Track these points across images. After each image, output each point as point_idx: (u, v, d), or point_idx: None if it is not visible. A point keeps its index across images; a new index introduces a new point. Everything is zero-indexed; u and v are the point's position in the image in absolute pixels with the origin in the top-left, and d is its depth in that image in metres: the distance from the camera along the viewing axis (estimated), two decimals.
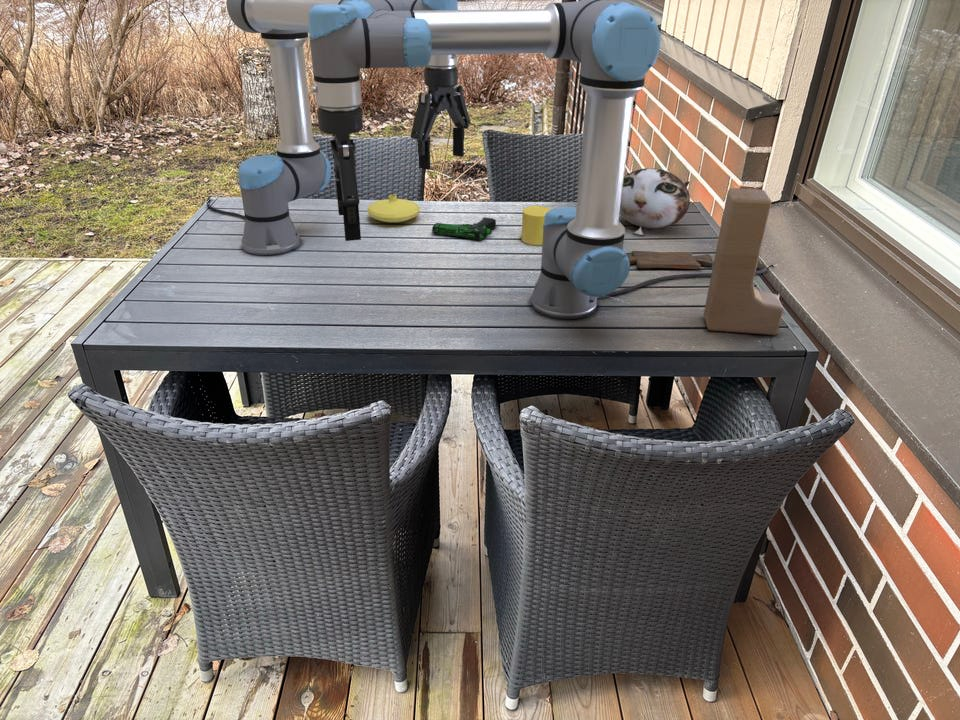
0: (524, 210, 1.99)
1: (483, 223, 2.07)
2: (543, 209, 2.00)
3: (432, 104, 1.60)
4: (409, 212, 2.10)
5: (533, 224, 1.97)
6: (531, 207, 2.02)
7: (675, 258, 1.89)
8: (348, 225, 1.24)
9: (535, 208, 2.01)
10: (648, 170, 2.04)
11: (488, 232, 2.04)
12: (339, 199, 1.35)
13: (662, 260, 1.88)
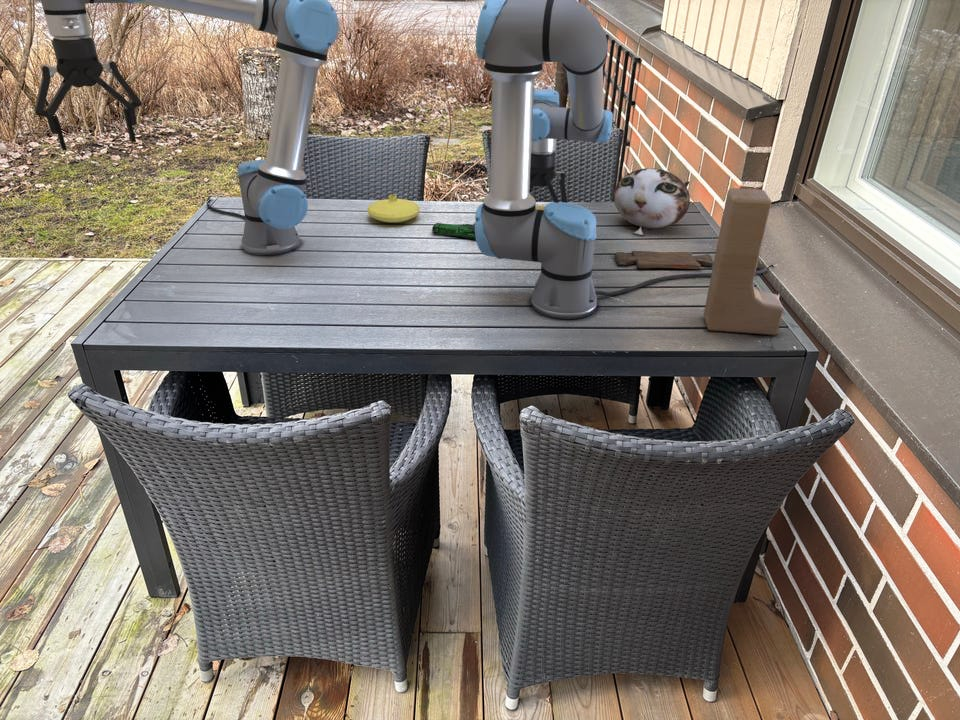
0: None
1: None
2: (543, 209, 2.00)
3: None
4: (409, 212, 2.10)
5: None
6: None
7: (675, 258, 1.89)
8: None
9: (535, 208, 2.01)
10: (648, 170, 2.04)
11: None
12: None
13: (662, 260, 1.88)
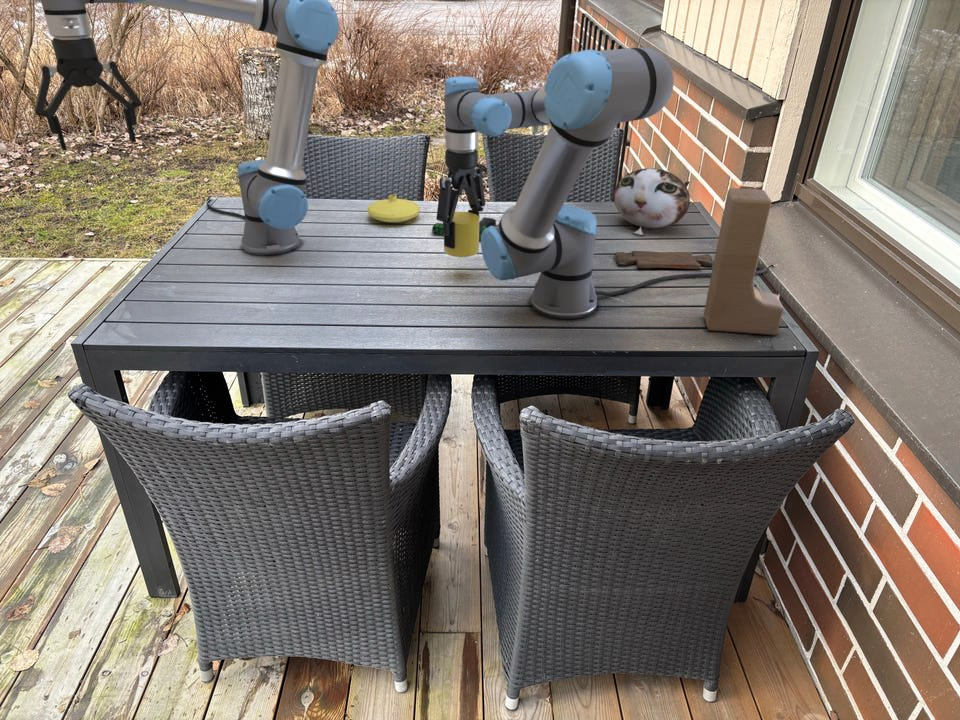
0: None
1: (483, 223, 2.07)
2: (462, 215, 1.75)
3: None
4: (409, 212, 2.10)
5: (470, 232, 1.71)
6: (448, 216, 1.74)
7: (675, 258, 1.89)
8: (446, 235, 1.72)
9: (454, 216, 1.74)
10: (648, 170, 2.04)
11: None
12: None
13: (662, 260, 1.88)
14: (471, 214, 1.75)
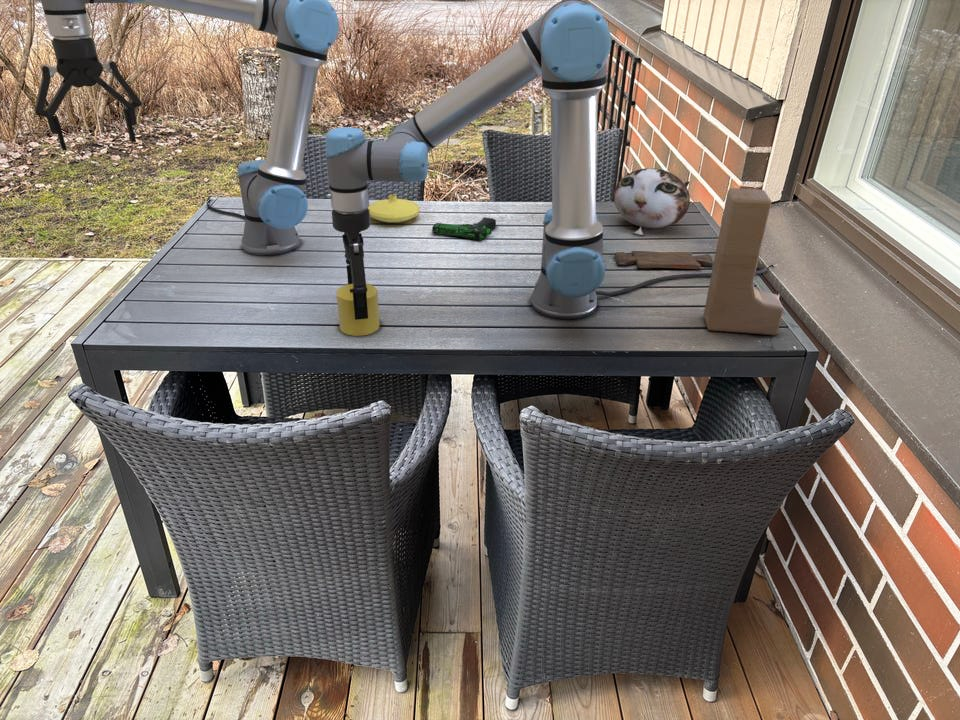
0: None
1: (483, 223, 2.07)
2: (351, 288, 1.54)
3: None
4: (409, 212, 2.10)
5: (377, 302, 1.54)
6: (343, 295, 1.51)
7: (675, 258, 1.89)
8: (357, 307, 1.47)
9: (348, 293, 1.52)
10: (648, 170, 2.04)
11: (488, 232, 2.04)
12: (349, 280, 1.58)
13: (662, 260, 1.88)
14: None
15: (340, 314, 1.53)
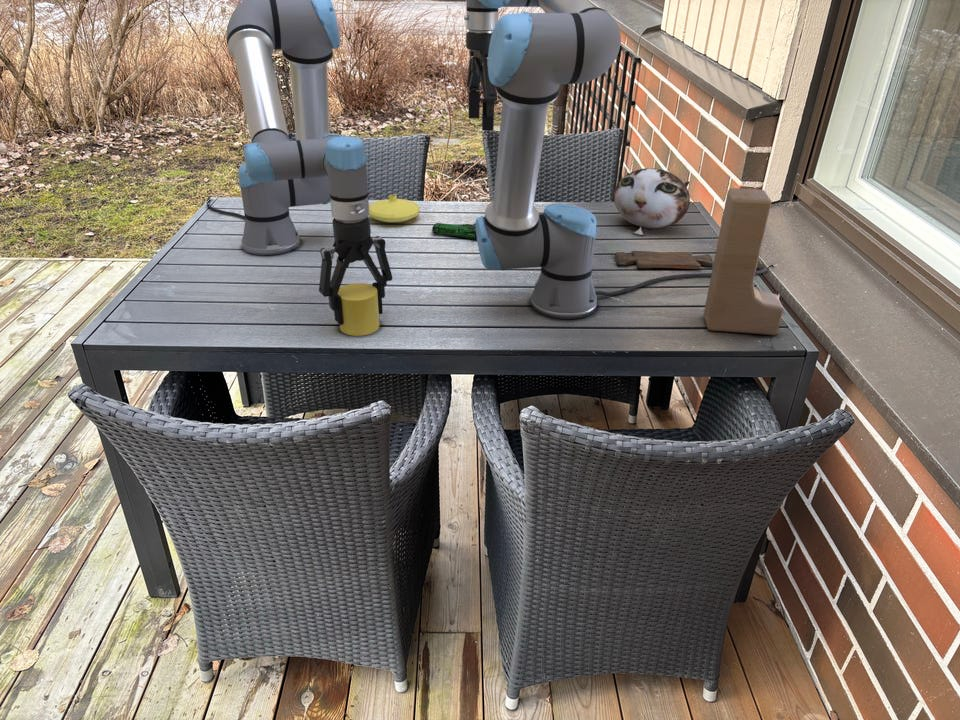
0: (356, 299, 1.50)
1: None
2: (351, 288, 1.54)
3: None
4: (409, 212, 2.10)
5: (377, 302, 1.54)
6: (343, 295, 1.51)
7: (675, 258, 1.89)
8: (485, 118, 1.71)
9: (348, 293, 1.52)
10: (648, 170, 2.04)
11: None
12: (470, 105, 1.82)
13: (662, 260, 1.88)
14: (357, 284, 1.56)
15: None
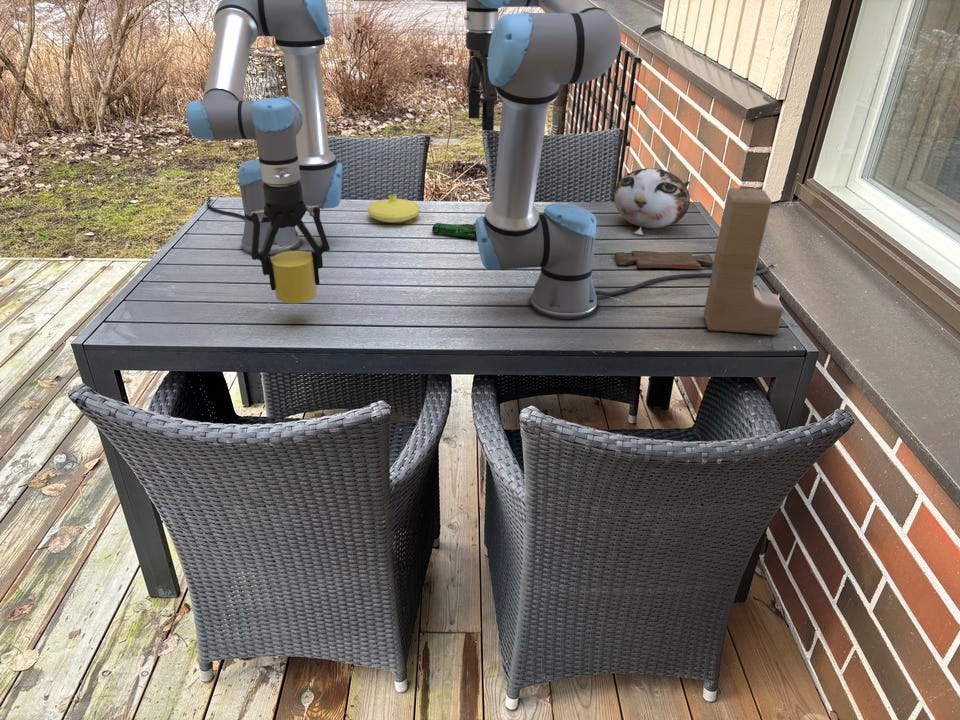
0: (285, 265, 1.48)
1: None
2: (289, 255, 1.52)
3: None
4: (409, 212, 2.10)
5: (310, 272, 1.51)
6: (275, 261, 1.50)
7: (675, 258, 1.89)
8: (485, 118, 1.71)
9: (282, 259, 1.50)
10: (648, 170, 2.04)
11: None
12: (470, 105, 1.82)
13: (662, 260, 1.88)
14: (297, 252, 1.54)
15: None
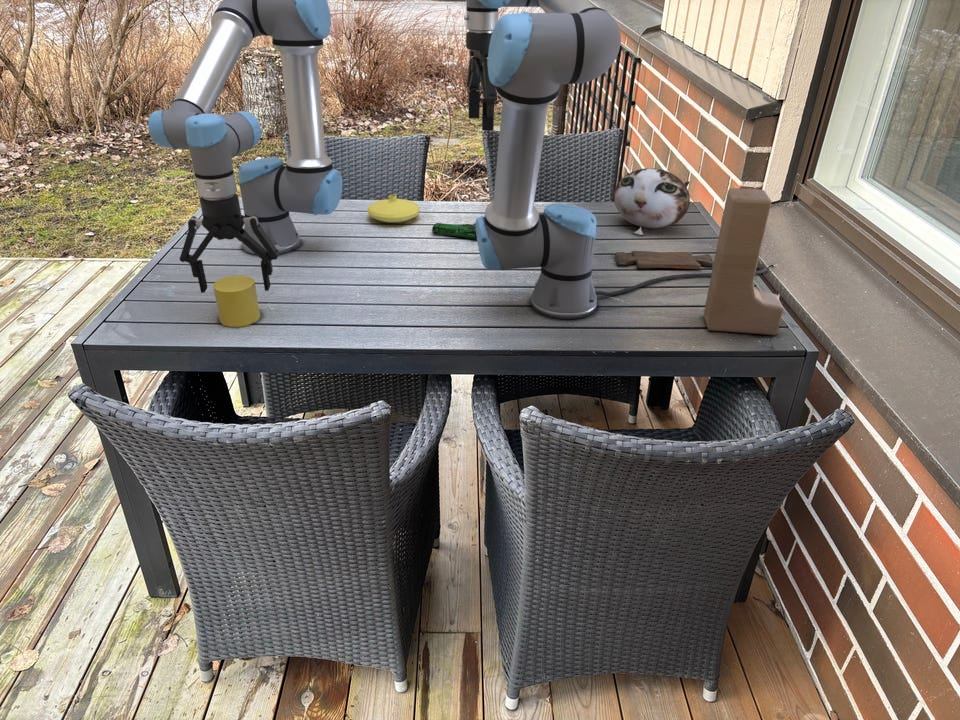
0: (222, 290, 1.52)
1: None
2: (234, 279, 1.57)
3: None
4: (409, 212, 2.10)
5: (248, 298, 1.54)
6: (218, 284, 1.55)
7: (675, 258, 1.89)
8: (485, 118, 1.71)
9: (225, 283, 1.55)
10: (648, 170, 2.04)
11: None
12: (470, 105, 1.82)
13: (662, 260, 1.88)
14: (244, 277, 1.58)
15: None
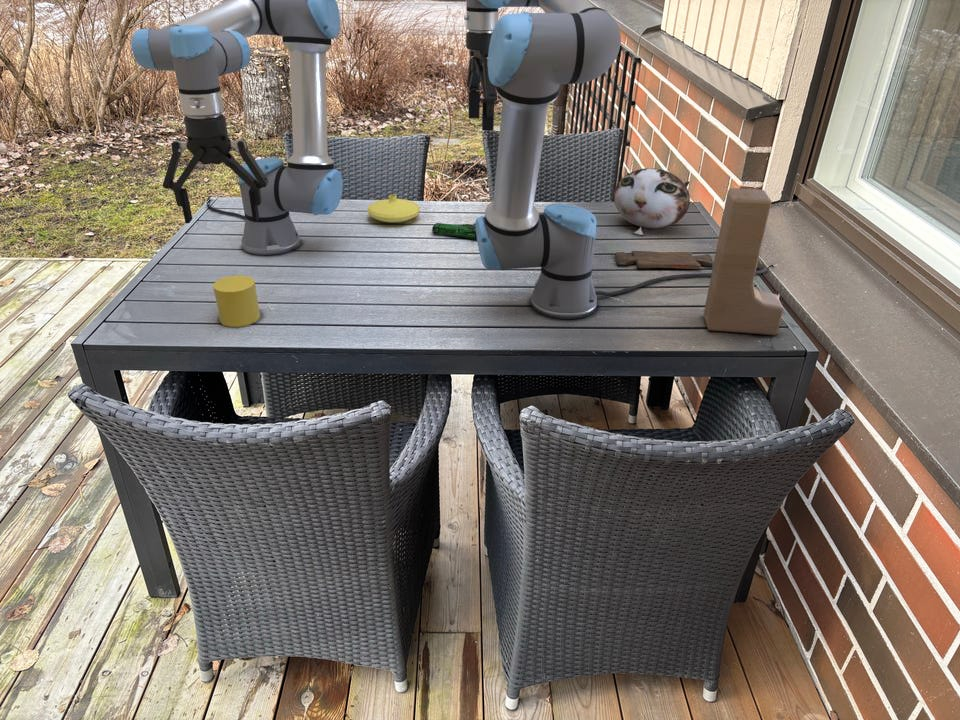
0: (222, 290, 1.52)
1: None
2: (234, 279, 1.57)
3: None
4: (409, 212, 2.10)
5: (248, 298, 1.54)
6: (218, 284, 1.55)
7: (675, 258, 1.89)
8: (485, 118, 1.71)
9: (225, 283, 1.55)
10: (648, 170, 2.04)
11: None
12: (470, 105, 1.82)
13: (662, 260, 1.88)
14: (244, 277, 1.58)
15: None
